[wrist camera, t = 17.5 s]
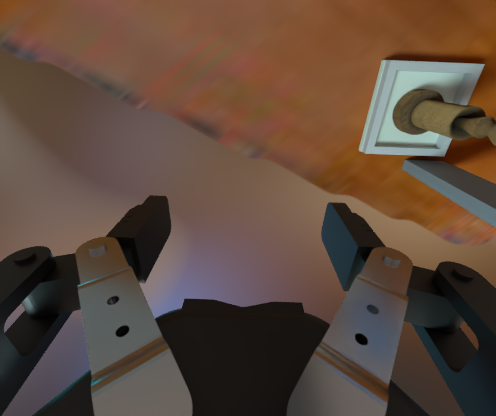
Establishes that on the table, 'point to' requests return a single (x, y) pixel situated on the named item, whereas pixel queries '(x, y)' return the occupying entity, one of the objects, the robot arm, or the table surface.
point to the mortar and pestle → (441, 117)
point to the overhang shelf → (429, 143)
